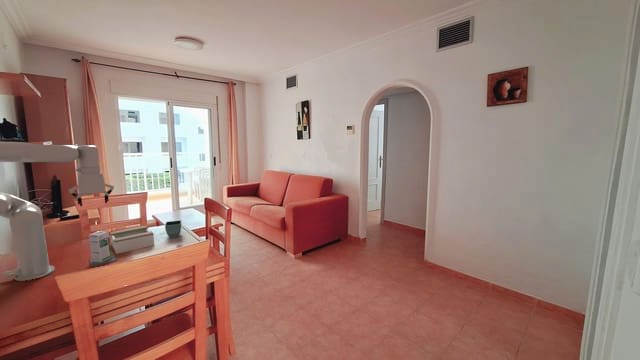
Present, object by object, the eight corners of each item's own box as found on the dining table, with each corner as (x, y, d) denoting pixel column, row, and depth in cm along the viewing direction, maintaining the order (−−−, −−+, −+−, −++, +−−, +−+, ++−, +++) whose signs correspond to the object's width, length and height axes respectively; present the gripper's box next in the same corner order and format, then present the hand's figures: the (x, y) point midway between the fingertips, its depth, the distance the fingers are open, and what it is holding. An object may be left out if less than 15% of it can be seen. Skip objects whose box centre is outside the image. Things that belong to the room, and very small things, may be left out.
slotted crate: (116, 253, 144) (114, 240, 143) (111, 244, 157) (110, 232, 156) (154, 245, 157) (153, 232, 156) (147, 236, 169) (146, 225, 168)
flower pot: (167, 234, 173) (166, 221, 172) (182, 233, 177) (181, 220, 176) (165, 239, 166) (164, 225, 164) (181, 237, 169) (180, 223, 168)
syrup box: (101, 262, 133) (97, 235, 131) (91, 261, 134) (88, 234, 132) (112, 257, 138) (109, 231, 136) (103, 256, 139) (99, 230, 137)
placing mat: (91, 266, 130) (91, 266, 129) (89, 260, 137) (89, 259, 137) (116, 260, 136) (116, 259, 136) (114, 254, 144) (113, 253, 143)
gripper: (65, 172, 123) (70, 208, 126) (113, 170, 135) (116, 203, 137) (66, 170, 129) (70, 205, 131) (111, 168, 140) (114, 200, 143)
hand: (93, 204), depth 134 cm, fingers open, 9 cm apart
